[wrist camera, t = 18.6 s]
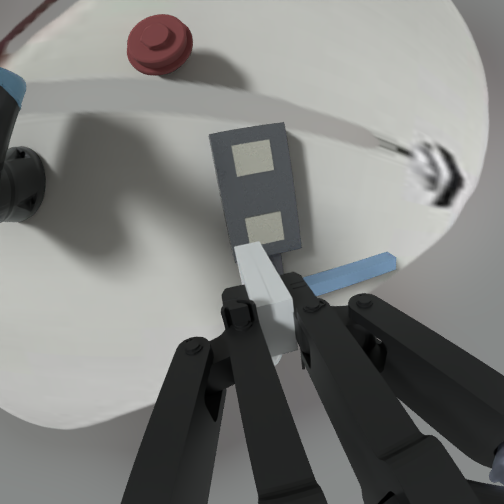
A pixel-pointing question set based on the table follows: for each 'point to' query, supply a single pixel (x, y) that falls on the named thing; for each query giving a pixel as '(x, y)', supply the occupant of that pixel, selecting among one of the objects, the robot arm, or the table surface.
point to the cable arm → (351, 273)
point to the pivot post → (277, 262)
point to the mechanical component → (159, 45)
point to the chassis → (257, 187)
